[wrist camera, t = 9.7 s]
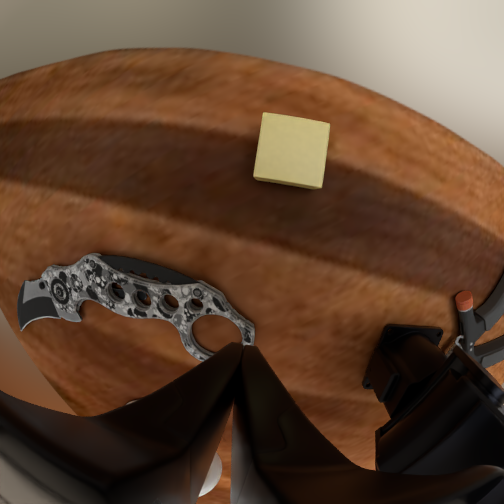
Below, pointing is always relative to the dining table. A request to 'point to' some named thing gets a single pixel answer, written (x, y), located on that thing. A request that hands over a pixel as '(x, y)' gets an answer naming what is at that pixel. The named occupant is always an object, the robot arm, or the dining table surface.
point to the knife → (127, 296)
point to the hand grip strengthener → (480, 326)
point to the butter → (291, 151)
